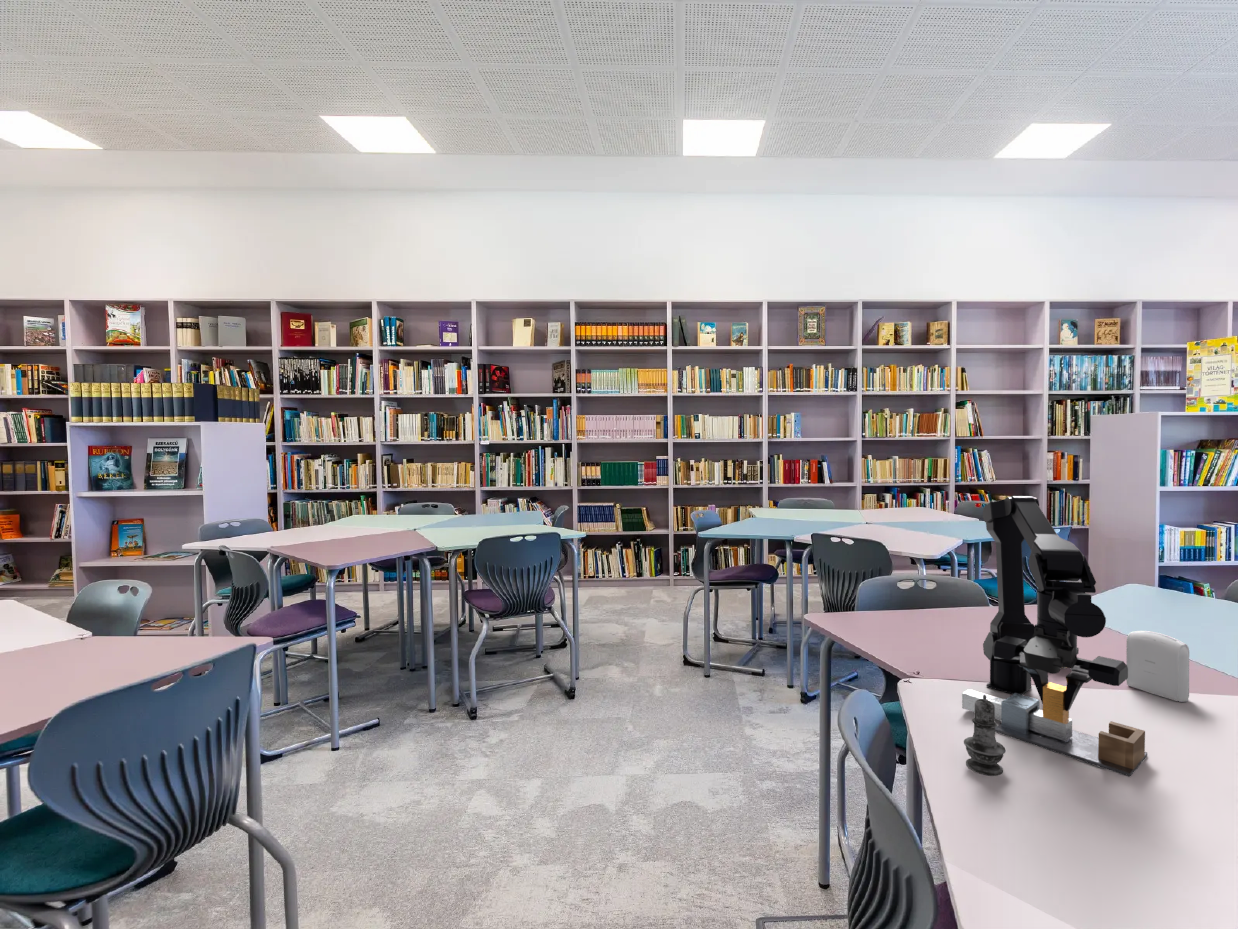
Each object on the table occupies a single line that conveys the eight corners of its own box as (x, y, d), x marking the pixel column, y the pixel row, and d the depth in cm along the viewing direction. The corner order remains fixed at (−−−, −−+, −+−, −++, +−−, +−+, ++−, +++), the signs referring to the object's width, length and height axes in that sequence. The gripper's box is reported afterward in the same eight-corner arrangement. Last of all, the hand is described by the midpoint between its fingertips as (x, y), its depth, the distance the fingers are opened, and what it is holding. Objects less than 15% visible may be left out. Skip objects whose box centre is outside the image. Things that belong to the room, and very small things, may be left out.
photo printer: (1121, 685, 131) (1122, 627, 131) (1135, 682, 133) (1136, 625, 132) (1179, 704, 121) (1181, 642, 121) (1193, 701, 123) (1194, 639, 122)
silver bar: (962, 708, 120) (962, 665, 119) (969, 704, 121) (969, 661, 121) (1065, 741, 106) (1066, 692, 106) (1072, 736, 108) (1072, 688, 108)
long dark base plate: (993, 731, 112) (994, 704, 112) (1015, 715, 118) (1016, 689, 118) (1129, 777, 97) (1130, 745, 96) (1147, 756, 103) (1147, 726, 102)
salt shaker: (1000, 760, 102) (1000, 689, 102) (1010, 779, 97) (1010, 704, 96) (960, 755, 104) (960, 685, 104) (967, 773, 98) (967, 699, 98)
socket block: (1098, 758, 101) (1098, 733, 101) (1110, 745, 105) (1111, 721, 105) (1133, 769, 98) (1133, 743, 97) (1144, 756, 102) (1145, 730, 101)
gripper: (979, 616, 110) (978, 702, 111) (1108, 642, 95) (1107, 741, 96) (1005, 605, 117) (1004, 686, 118) (1129, 628, 102) (1128, 720, 103)
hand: (1055, 707), depth 108 cm, fingers closed on silver bar, 3 cm apart
